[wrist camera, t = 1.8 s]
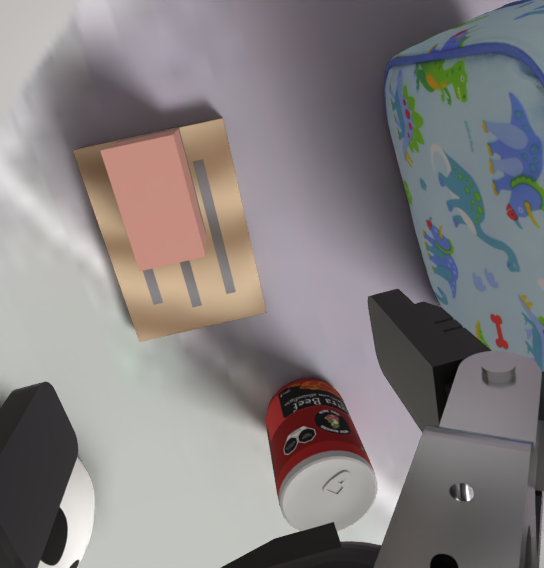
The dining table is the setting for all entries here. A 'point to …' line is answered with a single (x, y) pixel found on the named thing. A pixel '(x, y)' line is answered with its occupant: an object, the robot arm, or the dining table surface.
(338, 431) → the canned food
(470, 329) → the lunch box
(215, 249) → the board
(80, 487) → the milk container
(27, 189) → the dining table surface
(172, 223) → the block
